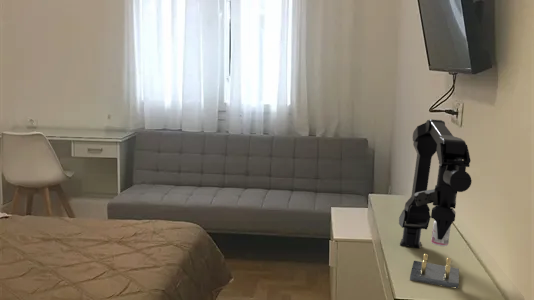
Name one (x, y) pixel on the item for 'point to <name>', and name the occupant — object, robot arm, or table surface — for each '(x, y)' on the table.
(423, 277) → the grey pegged plate
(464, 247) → the table surface
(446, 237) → the pill bottle
